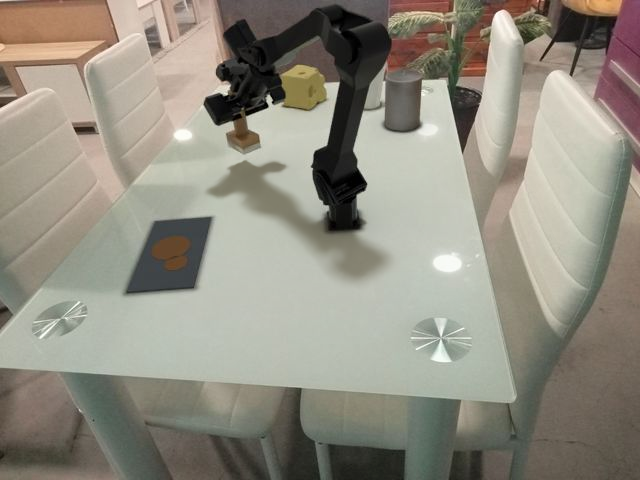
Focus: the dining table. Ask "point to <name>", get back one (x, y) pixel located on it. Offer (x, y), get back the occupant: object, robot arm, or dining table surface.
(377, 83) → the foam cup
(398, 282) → the dining table surface
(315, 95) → the cheese
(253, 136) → the scrub brush
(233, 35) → the robot arm
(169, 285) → the stain mat
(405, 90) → the pillar candle
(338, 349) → the dining table surface
